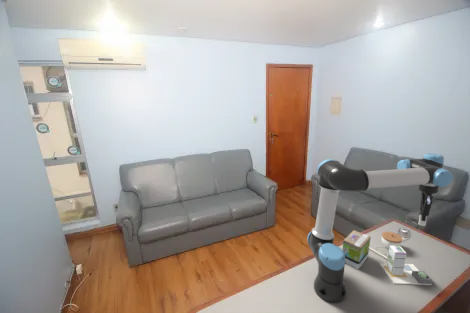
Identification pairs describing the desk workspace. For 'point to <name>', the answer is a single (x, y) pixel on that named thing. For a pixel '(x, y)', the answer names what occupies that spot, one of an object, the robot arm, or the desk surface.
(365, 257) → the tea box
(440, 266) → the desk surface
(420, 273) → the button
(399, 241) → the lidded jar
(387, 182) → the robot arm
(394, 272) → the syrup box
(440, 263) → the desk surface
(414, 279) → the white button panel
